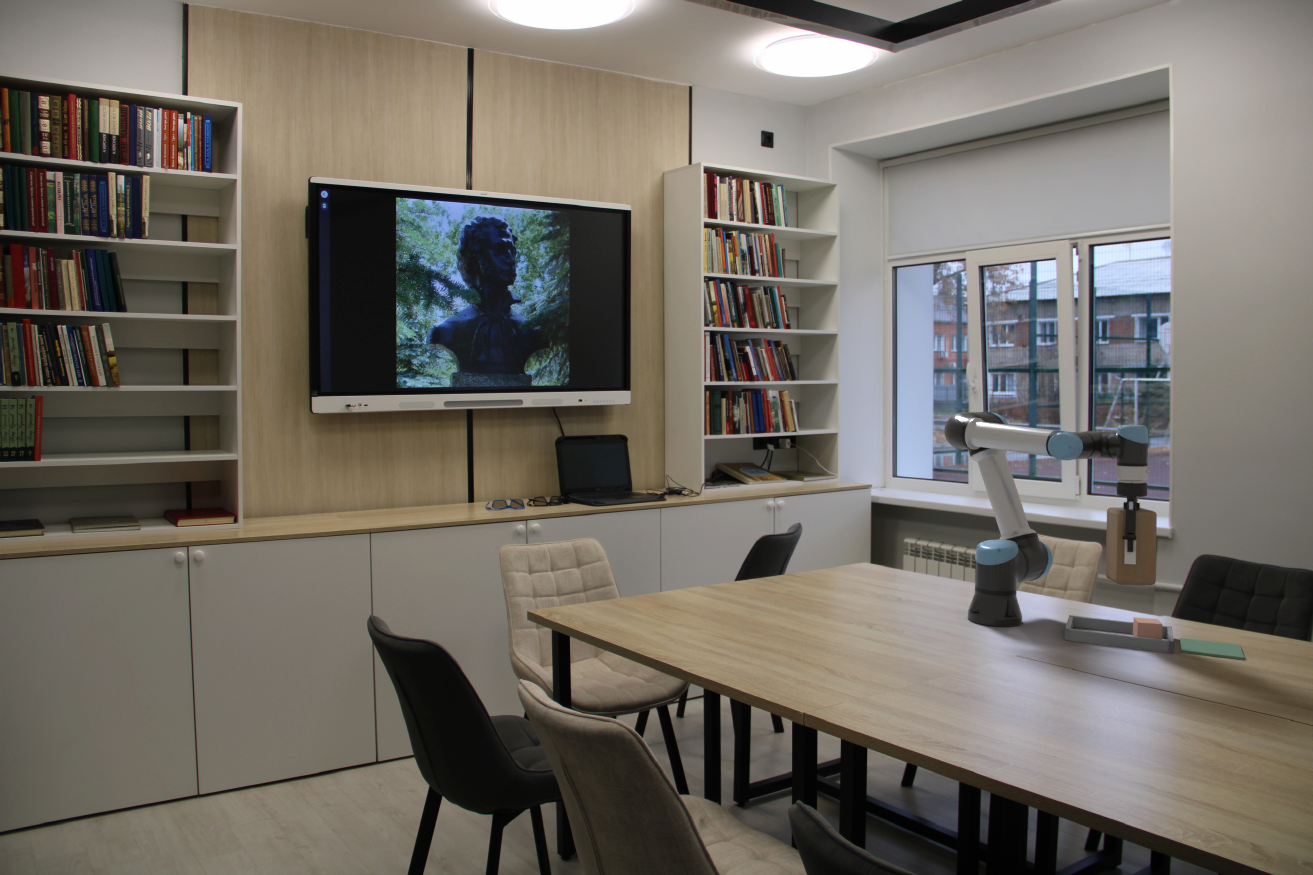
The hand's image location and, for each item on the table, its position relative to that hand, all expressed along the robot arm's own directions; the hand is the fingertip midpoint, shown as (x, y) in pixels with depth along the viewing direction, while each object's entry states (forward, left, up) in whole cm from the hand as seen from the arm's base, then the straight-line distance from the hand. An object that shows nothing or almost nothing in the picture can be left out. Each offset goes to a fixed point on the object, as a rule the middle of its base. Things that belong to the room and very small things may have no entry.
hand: (1130, 560), depth 256 cm
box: (+5, 0, -22) cm, 23 cm away
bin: (-2, 0, -22) cm, 22 cm away
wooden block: (0, 0, -6) cm, 6 cm away
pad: (+20, 0, -22) cm, 30 cm away
